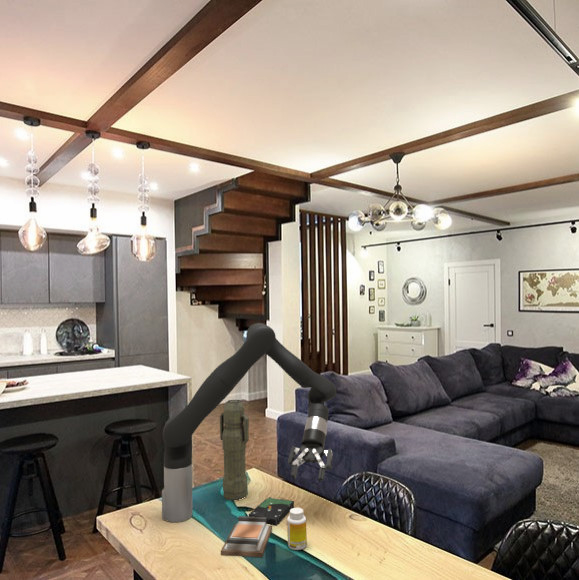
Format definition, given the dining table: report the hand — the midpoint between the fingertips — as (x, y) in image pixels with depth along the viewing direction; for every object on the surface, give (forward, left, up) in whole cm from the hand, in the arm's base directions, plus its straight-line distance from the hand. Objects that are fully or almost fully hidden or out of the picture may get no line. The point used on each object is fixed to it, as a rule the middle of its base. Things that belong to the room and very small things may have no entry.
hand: (306, 479), depth 147 cm
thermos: (-29, +22, -15) cm, 39 cm away
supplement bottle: (-2, -11, -15) cm, 19 cm away
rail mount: (-17, -10, -15) cm, 25 cm away
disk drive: (-13, +9, -16) cm, 22 cm away
